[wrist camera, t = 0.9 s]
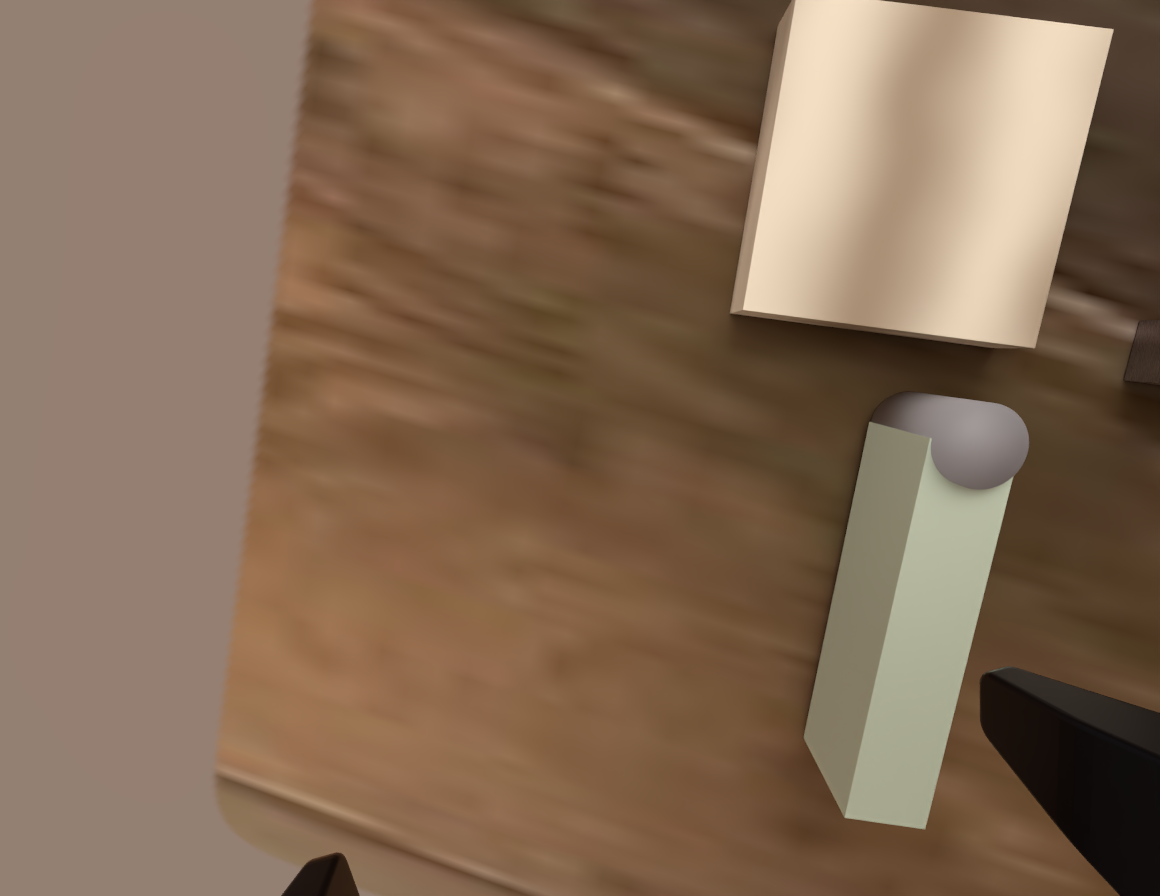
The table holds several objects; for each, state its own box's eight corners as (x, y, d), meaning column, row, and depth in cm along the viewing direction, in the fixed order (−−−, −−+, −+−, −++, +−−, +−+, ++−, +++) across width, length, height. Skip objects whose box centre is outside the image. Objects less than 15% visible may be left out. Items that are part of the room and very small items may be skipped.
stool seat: (1061, 61, 20) (1113, 29, 18) (994, 348, 21) (1034, 347, 19) (777, 26, 20) (797, -10, 18) (729, 313, 21) (742, 309, 19)
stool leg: (876, 386, 21) (947, 396, 17) (950, 396, 21) (1040, 408, 17) (803, 737, 23) (849, 827, 19) (870, 747, 23) (931, 839, 19)
